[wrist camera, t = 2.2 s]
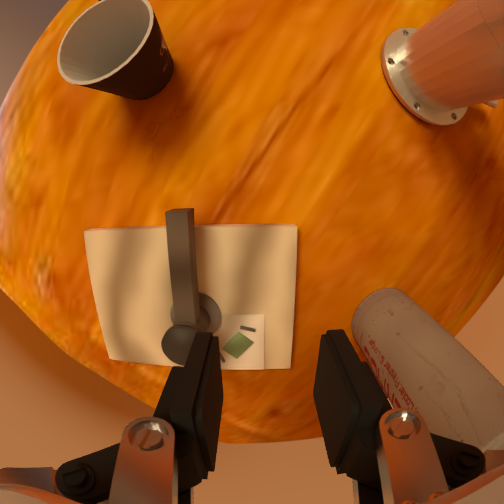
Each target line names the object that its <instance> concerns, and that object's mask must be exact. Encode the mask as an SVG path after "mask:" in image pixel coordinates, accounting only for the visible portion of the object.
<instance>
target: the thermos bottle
mask: <svg viewBox="0 0 504 504" xmlns="http://www.w3.org/2000/svg"><path fill="white" fill-rule="evenodd" d="M352 332H353V335H354V338H355V339H356V341H357V343H358V345H359V346H360V348H361V350H362V351H363V353H364V355H365V357H366V358H367V360H368V362H369V364H370V365H371V367H372V369H373V371H374V373H375V374H376V376H377V378H378V380H379V381H380V383H381V385H382V387H383V389H384V391H385V392H386V394H387V396H388V398H389V400H390V401H391V403H392V405H393V407H394V409H395V408H408V409H412V410H414V411H416V412H418V413H419V414H420V415H421V416H422V417H423V419H424V420H425V422H426V425H427V427H428V430H429V432H430V433H433V434H436V435H439V436H442V437H446V438H449V439H452V440H456V441H459V442H462V443H466V444H470V445H473V446H475V447H477V448H478V449H480V450H481V451H482V453H484V452H485V451H486V450H504V386H503V385H502V384H501V383H500V382H499V381H498V380H497V379H496V378H495V377H494V376H493V375H492V374H491V373H490V372H489V371H488V370H487V369H486V368H485V367H484V366H483V365H482V364H481V363H480V362H479V361H478V360H477V359H476V358H475V357H474V356H473V355H472V354H471V353H470V352H469V351H468V350H467V349H466V348H465V347H464V346H463V345H462V344H461V343H460V342H459V341H457V340H456V339H455V338H454V337H453V336H452V335H451V334H450V333H449V332H448V331H446V330H445V329H444V328H443V327H442V326H441V325H440V324H439V323H438V322H437V321H436V320H434V319H433V318H432V317H431V316H430V315H429V314H428V313H427V312H426V311H424V310H423V309H422V308H421V307H420V306H419V305H418V304H416V303H415V302H414V301H413V300H412V299H411V298H409V297H408V296H407V295H406V294H405V293H403V292H402V291H400V290H398V289H395V288H384V289H381V290H377V291H375V292H374V293H372V294H370V295H369V296H368V297H366V298H365V299H364V300H363V301H362V302H361V304H360V305H359V306H358V308H357V310H356V312H355V314H354V317H353V320H352Z"/></svg>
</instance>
